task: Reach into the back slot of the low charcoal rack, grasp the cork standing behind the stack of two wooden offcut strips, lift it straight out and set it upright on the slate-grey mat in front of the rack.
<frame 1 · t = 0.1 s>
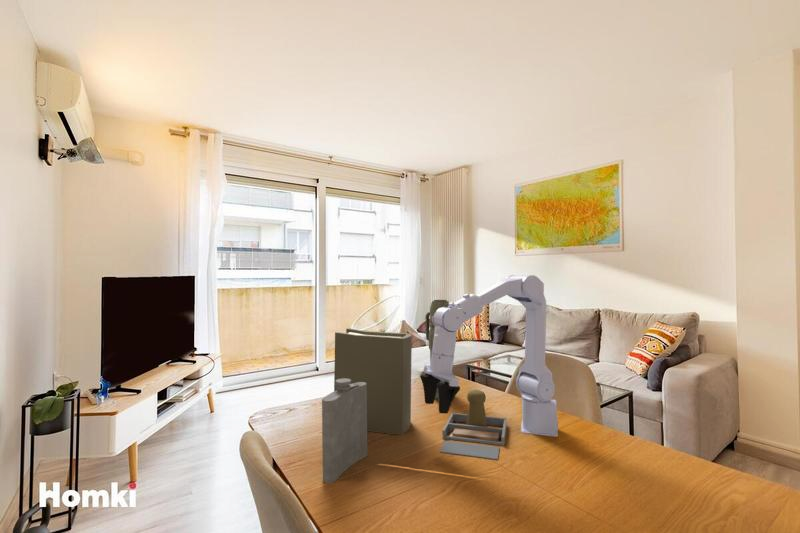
hand: (435, 408, 99), 11 cm above the table, fingers open, 7 cm apart
rack: (475, 433, 109), on the table
bottom offcut: (474, 441, 105), on the table, touching top offcut
book: (375, 426, 115), on the table
top offcut: (475, 437, 104), resting on bottom offcut
slate mat: (469, 451, 97), on the table
cork: (476, 430, 111), on the table
thermos: (441, 396, 142), on the table
hip flask: (345, 466, 91), on the table
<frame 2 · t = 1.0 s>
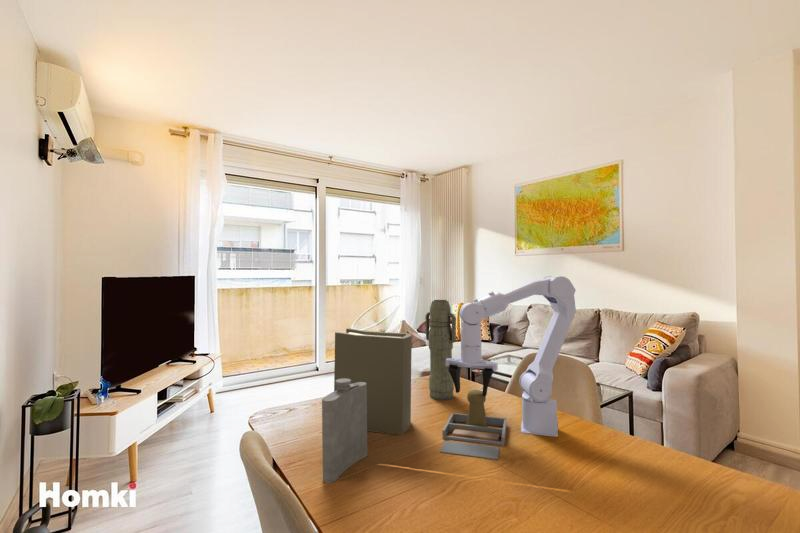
hand: (471, 393, 110), 11 cm above the table, fingers open, 7 cm apart
nothing on the table moved.
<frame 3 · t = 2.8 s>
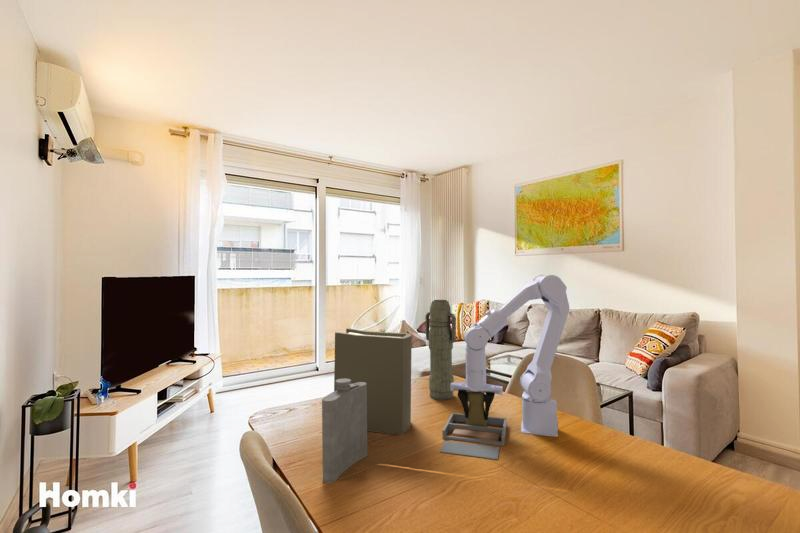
hand: (476, 417, 111), 3 cm above the table, fingers closed on cork, 5 cm apart
cork: (476, 430, 111), on the table, touching gripper
everything else where it was.
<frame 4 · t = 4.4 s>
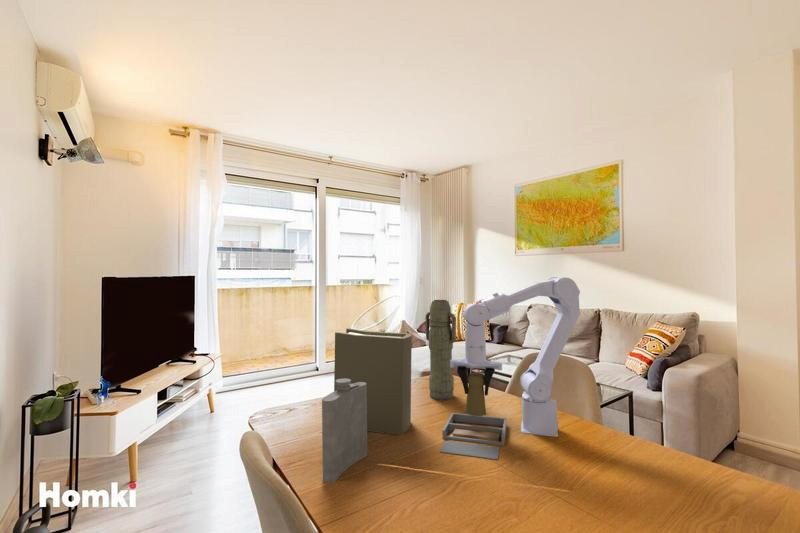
hand: (476, 393, 111), 10 cm above the table, fingers closed on cork, 5 cm apart
cork: (475, 413, 111), point 5 cm above the table, touching gripper
everything else where it was.
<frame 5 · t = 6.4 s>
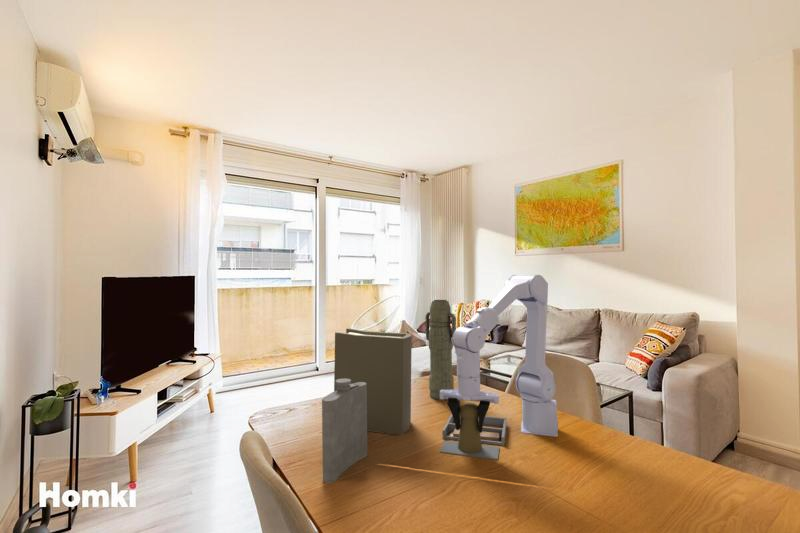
hand: (469, 429, 97), 5 cm above the table, fingers closed on cork, 5 cm apart
cork: (470, 448, 98), resting on slate mat, touching gripper
everything else where it was.
when the fingers open (5 cm above the table, at t = 7.1 s): cork stays where it is, resting on slate mat.
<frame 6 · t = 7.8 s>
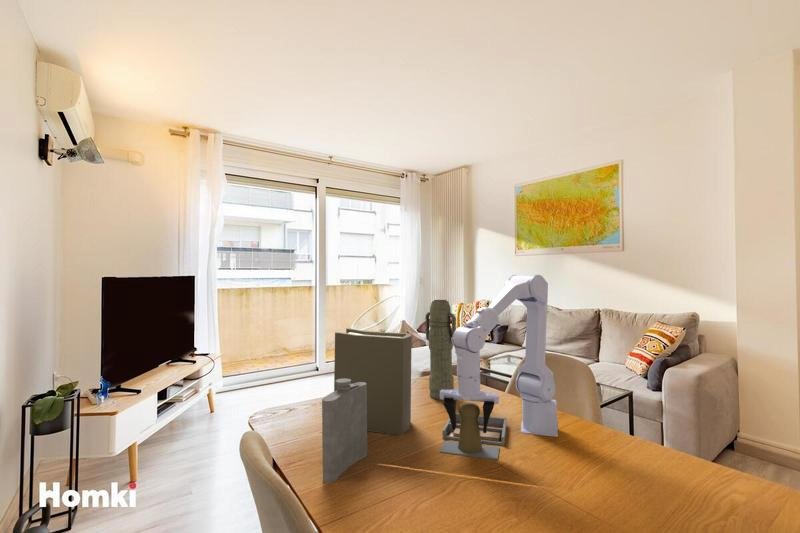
hand: (469, 429, 97), 5 cm above the table, fingers open, 7 cm apart
bottom offcut: (473, 441, 105), on the table
top offcut: (476, 437, 104), point 1 cm above the table
cork: (470, 448, 98), resting on slate mat
everything else where it was.
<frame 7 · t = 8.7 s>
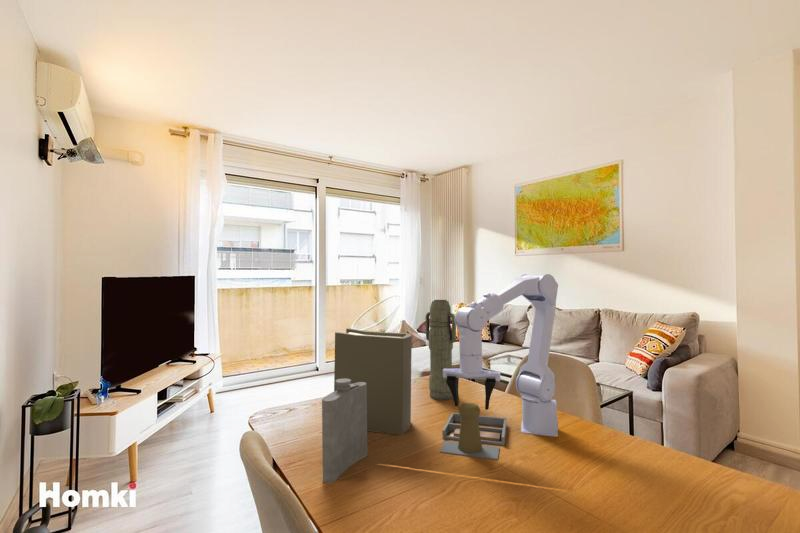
hand: (471, 406, 100), 10 cm above the table, fingers open, 7 cm apart
nothing on the table moved.
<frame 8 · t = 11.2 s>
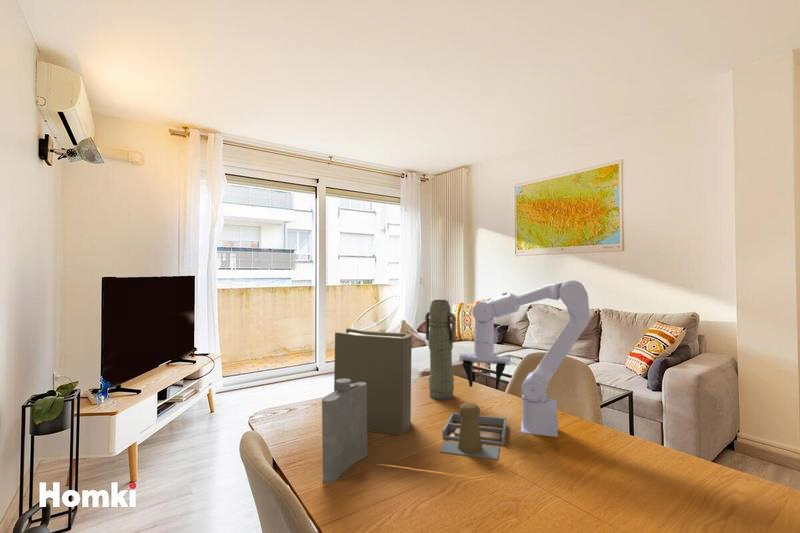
hand: (483, 387, 117), 10 cm above the table, fingers open, 7 cm apart
bottom offcut: (473, 441, 105), on the table, touching top offcut
top offcut: (477, 437, 104), resting on bottom offcut
everything else where it was.
at the end: cork 0.8 cm off-centre on the slate mat, point 0.4 cm above the slate mat's base; cork tilted 0°; top offcut moved 0.9 cm from its start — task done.
